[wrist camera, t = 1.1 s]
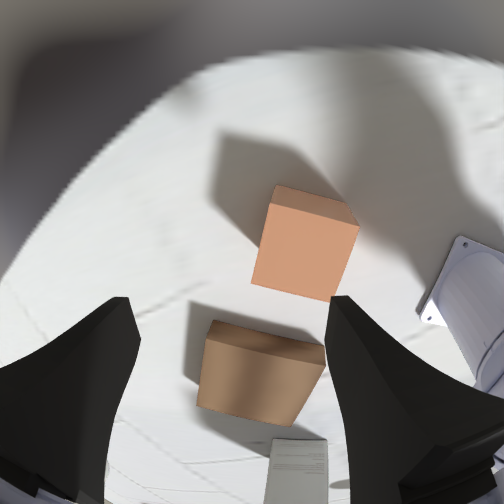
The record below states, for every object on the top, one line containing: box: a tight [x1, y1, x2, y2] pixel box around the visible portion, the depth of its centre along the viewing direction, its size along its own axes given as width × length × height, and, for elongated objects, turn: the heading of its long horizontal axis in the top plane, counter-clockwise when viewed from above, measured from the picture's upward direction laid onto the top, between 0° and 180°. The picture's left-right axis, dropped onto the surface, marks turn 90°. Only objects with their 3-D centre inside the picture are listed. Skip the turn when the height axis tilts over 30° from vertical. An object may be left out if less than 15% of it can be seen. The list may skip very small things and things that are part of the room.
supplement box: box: [263, 439, 329, 504], centre depth 28 cm, size 7×7×13 cm
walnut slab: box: [196, 320, 326, 427], centre depth 26 cm, size 10×10×3 cm
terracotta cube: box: [251, 185, 360, 303], centre depth 19 cm, size 5×5×5 cm
